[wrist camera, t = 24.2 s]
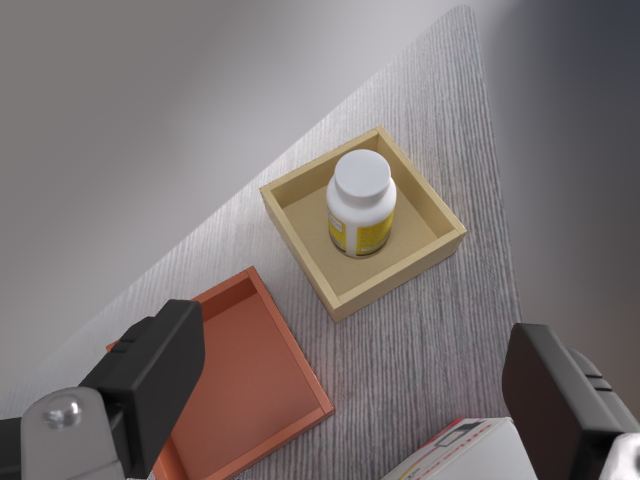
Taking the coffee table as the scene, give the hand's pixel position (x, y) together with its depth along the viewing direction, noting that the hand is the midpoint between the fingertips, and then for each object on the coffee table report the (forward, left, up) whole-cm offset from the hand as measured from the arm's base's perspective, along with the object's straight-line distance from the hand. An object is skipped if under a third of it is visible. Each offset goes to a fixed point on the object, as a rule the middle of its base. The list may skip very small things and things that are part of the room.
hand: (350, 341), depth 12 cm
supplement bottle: (+9, +12, -25) cm, 30 cm away
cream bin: (+9, +12, -26) cm, 30 cm away
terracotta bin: (-7, +6, -26) cm, 28 cm away
